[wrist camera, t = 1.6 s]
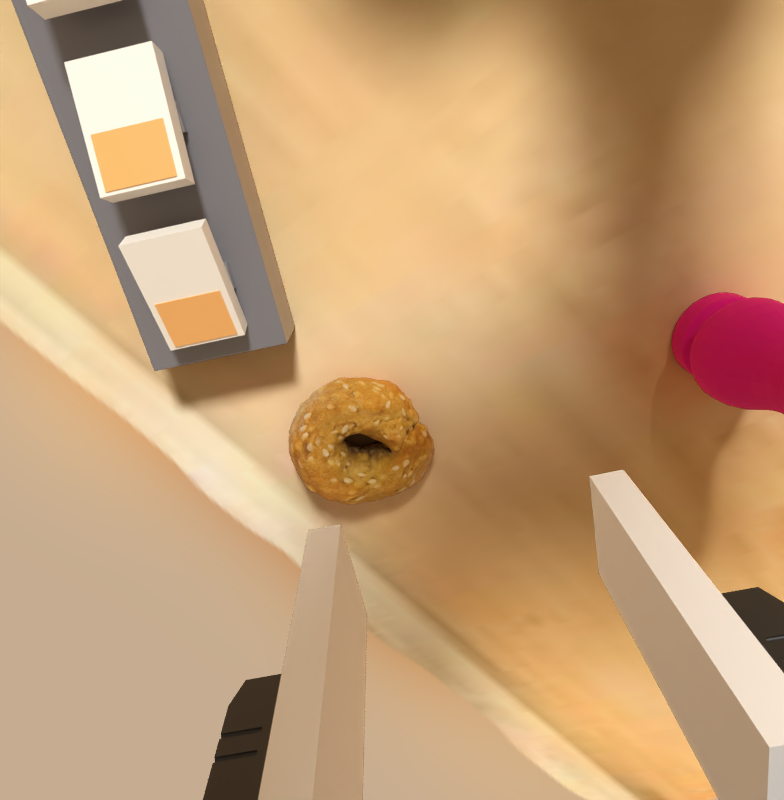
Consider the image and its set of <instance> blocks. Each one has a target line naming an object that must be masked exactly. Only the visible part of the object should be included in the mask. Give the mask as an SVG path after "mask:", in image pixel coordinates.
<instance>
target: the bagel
mask: <svg viewBox="0 0 784 800" xmlns="http://www.w3.org/2000/svg"><path fill="white" fill-rule="evenodd" d="M357 433H360V434H363V435H365V436H368V437H370V438H372V439H374V440H377V441H380V442H378V443H375V444H372V445H369V446H364V447H362V448H359V446H353V445H352V444H349V443H348V442H347V441H346V440H345V438H346V437H347V436H349V435H354V434H357ZM289 434H290V436H289V453H290V456H291V460H292V462H293V463H294V465H295V468H296V470H297V472H298V474H299V476H300V478H301V479H302V481H303V482H304V483H305V485H306V487H307V488H308V489H309V490H310V491H312V492H315V493H318V494H320V495H321V496H322V497H324V498H326V499H329V500H333V501H338V502H341V503H345V504H359V503H361V502H366V501H375V500H381V499H383V498H385V497H387V496H392V495H395V494H399V493H401V492H402V491H404V490H406V489H408V488H410V487H411V486H412V485H414V484H416V483H417V482H418V481H420V480H421V479H422V477H423V476H424V473H425V471H426V469H427V467H428V466H429V464H430V462H431V460H432V456H433V454H434V443H433V440H432V438H431V436H430V435H429V433H428V428H427V426H425V425H423V424H421V423H420V422H419V416H418V413H417V412H416V411H415V409H414V408H413V406H412V403H411V401H410V399H409V398H407V397H406V396H405V394H404V393H403V392H402V391H401V390H400V389H399V388H398V387H397V386H396V385H394V384H393V383H391V382H389V381H384V380H374V379H370V378H339V379H337V380H334V381H332V382H330V383H328V384H327V385H324V386H323V387H321V388H320V389H318V390H316V391H315V392H313V393H312V395H311V397H310V398H309V399H308V400H306V401H305V402H303V403H302V404H301V405H300V408H299V409H298V411H297V412H296V416H295V417H294V419H293V422H292V424H291V427H290V431H289Z"/></svg>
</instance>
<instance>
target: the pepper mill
mask: <svg viewBox="0 0 784 800" xmlns="http://www.w3.org/2000/svg"><path fill="white" fill-rule="evenodd" d="M672 349H673V353H674V356H675V358H676V360H677V362H678V363H679V364H680V365H681V366H682V367H683V368H684V369H685V370H686V371H688V372H689V373H691V374H692V375H693V376H694V379H695V381H696V382H697V383H698V385H699V386H700V387H701V389H702V390H703V391H704V392H705V393H707V394H708V395H710V396H711V397H713V398H715V399H716V400H718V401H720V402H723V403H725V404H727V405H730V406H734V407H738V408H742V409H750V410H773V411H777V412H780V413H783V414H784V304H783V303H781V302H779V301H776V300H772V299H768V298H745V297H743V296H740V295H737V294H733V293H726V292H725V293H716V294H711V295H709V296H706V297H704V298H702V299H700V300H698V301H697V302H695V303H693V304H692V305H691V306H690V307H689V308H688V309H687V310H686V311H685V312H684V313H683V314H682V316H681V317H680V319H679V320H678V322H677V323H676V326H675V330H674V333H673V337H672Z"/></svg>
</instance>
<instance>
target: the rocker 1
mask: <svg viewBox="0 0 784 800" xmlns="http://www.w3.org/2000/svg"><path fill="white" fill-rule="evenodd" d="M118 1H122V0H26V3H27V6H29V7H30V8H31V9H32V10H34V11H35V12H36V13H37V14H39V15H40V16H41V17H42V18H43V19H45V20H46V19H50V18H54V17H58V16H62V15H66V14H70V13H74V12H78V11H82V10H86V9H90V8H94V7H98V6H102V5H106V4H110V3H114V2H118Z"/></svg>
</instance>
